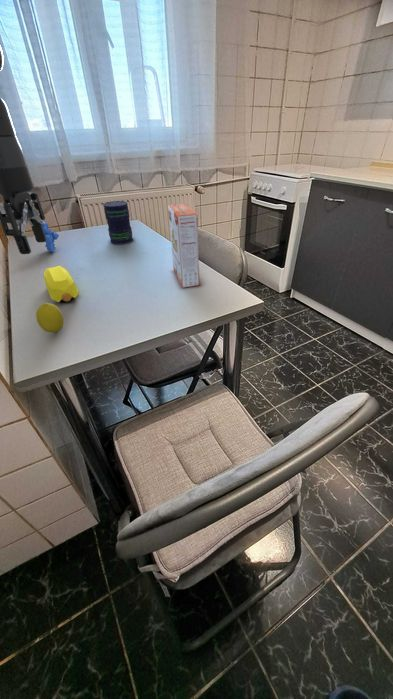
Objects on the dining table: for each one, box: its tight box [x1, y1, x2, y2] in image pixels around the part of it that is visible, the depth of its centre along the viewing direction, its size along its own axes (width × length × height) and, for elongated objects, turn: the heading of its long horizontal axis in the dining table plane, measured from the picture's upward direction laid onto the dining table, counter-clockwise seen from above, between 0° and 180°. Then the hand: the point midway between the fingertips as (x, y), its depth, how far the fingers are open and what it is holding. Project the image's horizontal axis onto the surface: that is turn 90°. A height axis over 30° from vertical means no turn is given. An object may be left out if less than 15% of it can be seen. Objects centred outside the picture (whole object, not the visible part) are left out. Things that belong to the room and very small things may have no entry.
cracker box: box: [167, 203, 200, 289], centre depth 89 cm, size 14×6×21 cm, turn 14°
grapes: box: [42, 220, 60, 253], centre depth 116 cm, size 12×7×12 cm, turn 23°
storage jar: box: [103, 200, 134, 245], centre depth 124 cm, size 10×10×15 cm
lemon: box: [35, 302, 64, 334], centre depth 69 cm, size 6×6×8 cm
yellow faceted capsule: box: [43, 265, 80, 303], centre depth 87 cm, size 18×7×8 cm
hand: (34, 247), depth 68 cm, fingers open, 8 cm apart
